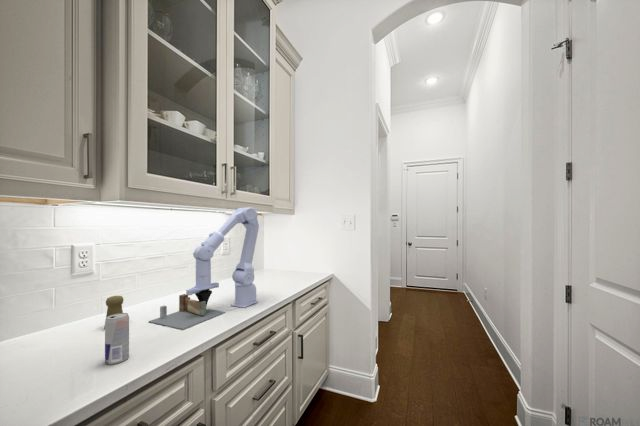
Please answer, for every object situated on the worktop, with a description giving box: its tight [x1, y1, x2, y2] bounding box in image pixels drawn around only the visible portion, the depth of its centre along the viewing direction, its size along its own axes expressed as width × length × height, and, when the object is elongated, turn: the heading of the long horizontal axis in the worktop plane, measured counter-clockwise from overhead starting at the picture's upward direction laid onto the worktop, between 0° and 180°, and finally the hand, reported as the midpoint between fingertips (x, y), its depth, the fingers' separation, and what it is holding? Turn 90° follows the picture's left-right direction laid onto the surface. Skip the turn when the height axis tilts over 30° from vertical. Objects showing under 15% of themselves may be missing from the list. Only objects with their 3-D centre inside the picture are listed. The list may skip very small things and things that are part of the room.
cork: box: [103, 295, 124, 330], centre depth 101 cm, size 6×6×11 cm
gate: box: [185, 296, 207, 315], centre depth 113 cm, size 2×12×5 cm, turn 56°
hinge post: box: [178, 293, 189, 312], centre depth 117 cm, size 2×2×7 cm
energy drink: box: [104, 312, 130, 365], centre depth 77 cm, size 5×5×12 cm
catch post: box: [159, 305, 168, 319], centre depth 109 cm, size 2×2×5 cm
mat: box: [148, 308, 226, 331], centre depth 110 cm, size 20×19×1 cm
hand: (203, 308), depth 114 cm, fingers closed
